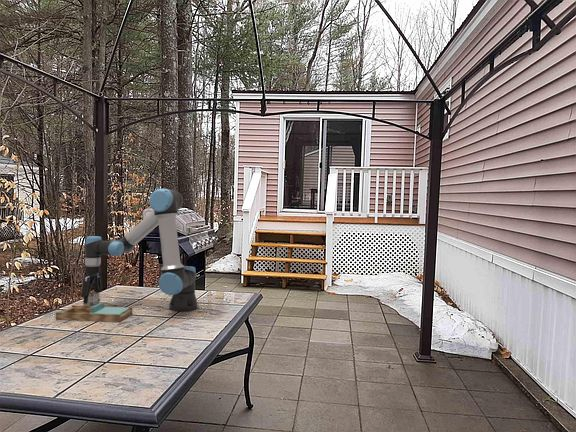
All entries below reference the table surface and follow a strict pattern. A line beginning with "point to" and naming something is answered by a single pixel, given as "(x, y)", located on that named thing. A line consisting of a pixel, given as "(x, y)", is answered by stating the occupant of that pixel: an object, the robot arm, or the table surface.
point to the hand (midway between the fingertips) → (91, 307)
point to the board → (90, 315)
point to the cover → (107, 310)
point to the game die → (93, 299)
